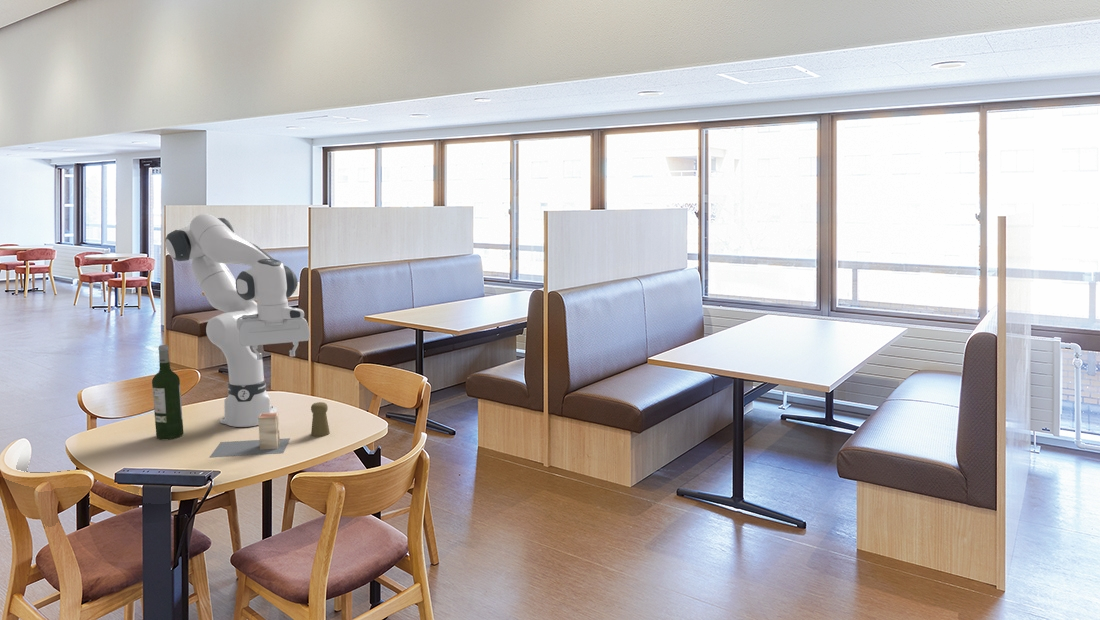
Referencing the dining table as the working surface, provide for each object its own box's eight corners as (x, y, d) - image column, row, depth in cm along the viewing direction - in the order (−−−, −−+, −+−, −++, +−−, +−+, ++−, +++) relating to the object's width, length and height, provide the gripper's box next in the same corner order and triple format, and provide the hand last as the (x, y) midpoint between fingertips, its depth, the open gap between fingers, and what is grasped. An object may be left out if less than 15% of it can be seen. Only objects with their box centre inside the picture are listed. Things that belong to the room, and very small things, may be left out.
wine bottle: (151, 437, 239) (143, 346, 235) (173, 430, 246) (166, 342, 242) (166, 441, 236) (159, 349, 231) (188, 434, 243) (182, 344, 238)
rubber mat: (220, 443, 234) (220, 442, 234) (290, 440, 238) (290, 438, 238) (209, 459, 220) (209, 457, 220) (283, 455, 224) (283, 453, 224)
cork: (309, 439, 239) (308, 406, 237) (311, 433, 245) (310, 401, 243) (329, 438, 240) (327, 405, 238) (330, 432, 246) (329, 400, 244)
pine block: (263, 444, 232) (261, 413, 230) (279, 443, 233) (278, 412, 231) (260, 449, 227) (258, 418, 225) (277, 448, 228) (275, 417, 226)
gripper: (236, 317, 216) (240, 363, 218) (309, 311, 225) (312, 356, 227) (235, 314, 222) (238, 359, 224) (306, 309, 231) (309, 352, 233)
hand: (276, 357), depth 226 cm, fingers open, 8 cm apart
